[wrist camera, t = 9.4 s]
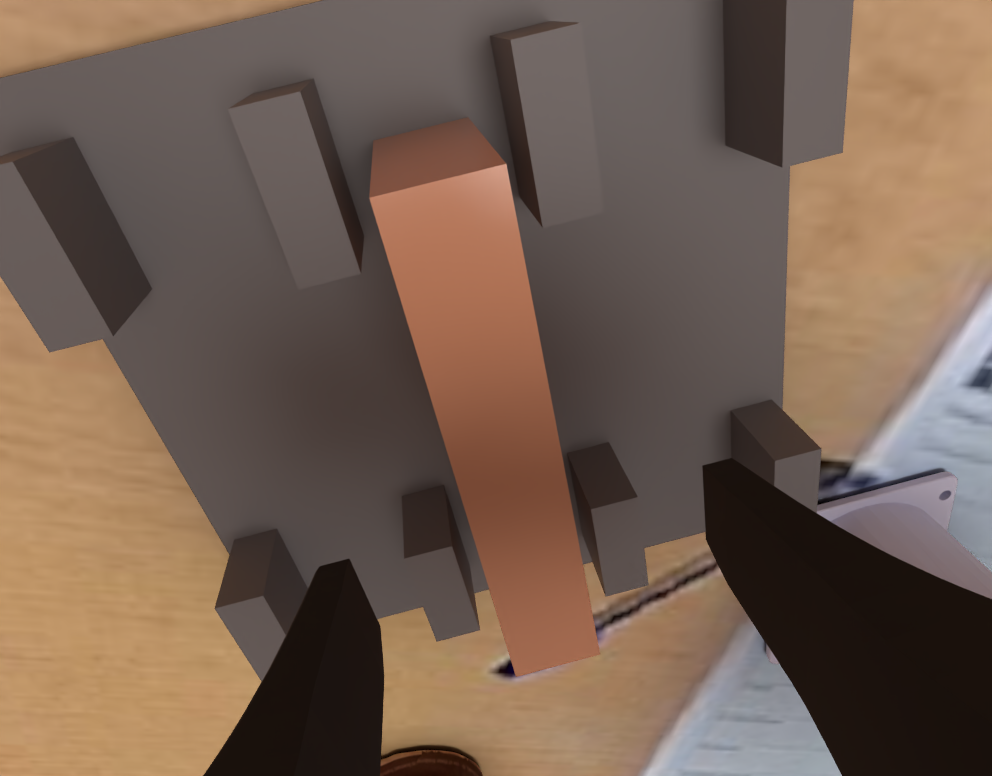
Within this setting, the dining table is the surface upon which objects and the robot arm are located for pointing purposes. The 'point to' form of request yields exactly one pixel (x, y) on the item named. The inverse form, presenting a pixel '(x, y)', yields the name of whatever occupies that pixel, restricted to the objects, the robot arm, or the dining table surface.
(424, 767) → the coffee cup
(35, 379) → the dining table surface
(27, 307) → the comb rack
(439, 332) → the clay strip
